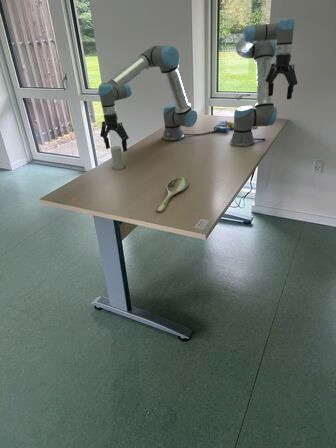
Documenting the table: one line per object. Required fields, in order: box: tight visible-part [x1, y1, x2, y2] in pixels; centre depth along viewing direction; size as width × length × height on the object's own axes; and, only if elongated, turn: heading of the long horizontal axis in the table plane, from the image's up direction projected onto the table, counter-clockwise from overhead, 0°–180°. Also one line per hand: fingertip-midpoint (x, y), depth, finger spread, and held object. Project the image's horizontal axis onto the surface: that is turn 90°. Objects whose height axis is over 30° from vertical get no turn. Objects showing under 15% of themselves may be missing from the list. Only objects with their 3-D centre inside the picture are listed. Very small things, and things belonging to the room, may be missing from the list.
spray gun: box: [213, 120, 234, 133], centre depth 256 cm, size 21×4×15 cm
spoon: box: [157, 176, 190, 213], centre depth 167 cm, size 35×11×2 cm, turn 159°
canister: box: [109, 145, 125, 170], centre depth 203 cm, size 6×6×13 cm
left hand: (116, 149), depth 200 cm, fingers open, 13 cm apart
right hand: (279, 97), depth 181 cm, fingers open, 13 cm apart
